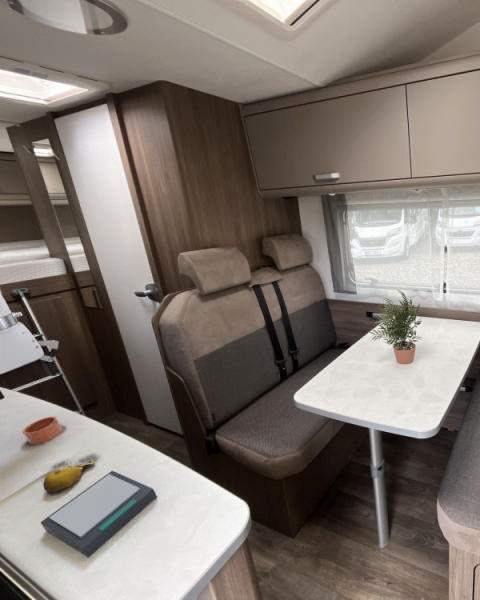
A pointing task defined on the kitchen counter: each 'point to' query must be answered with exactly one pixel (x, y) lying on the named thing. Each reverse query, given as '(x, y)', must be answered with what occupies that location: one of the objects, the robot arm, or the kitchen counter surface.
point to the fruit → (63, 477)
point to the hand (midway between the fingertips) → (27, 385)
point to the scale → (99, 512)
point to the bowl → (42, 430)
